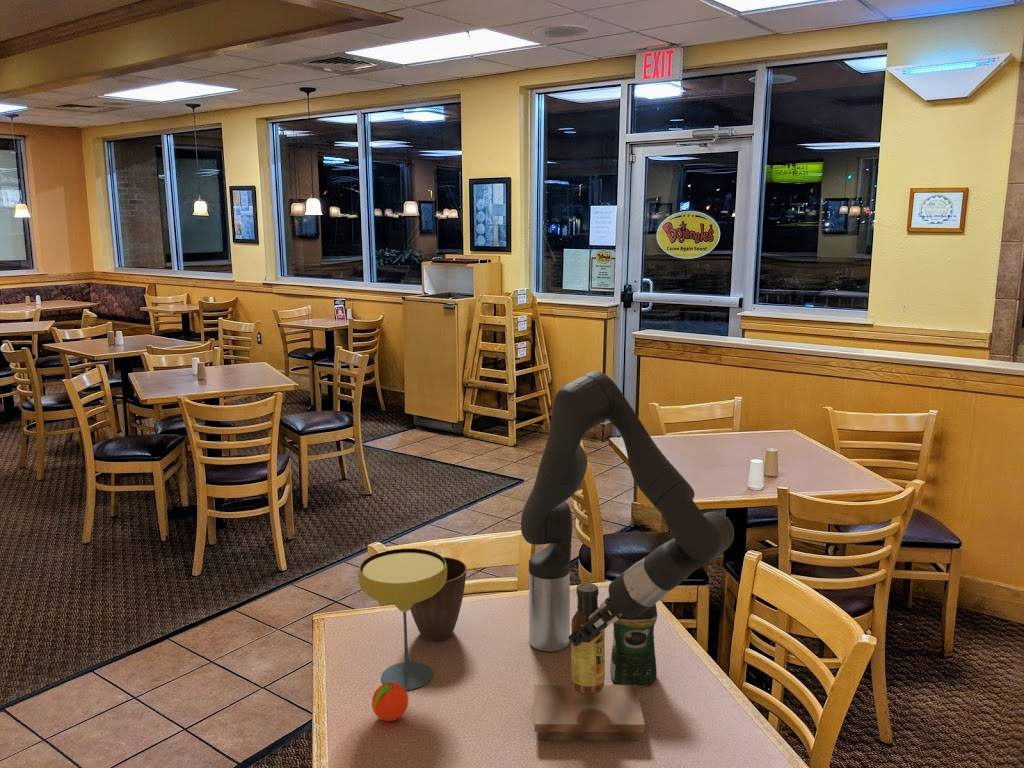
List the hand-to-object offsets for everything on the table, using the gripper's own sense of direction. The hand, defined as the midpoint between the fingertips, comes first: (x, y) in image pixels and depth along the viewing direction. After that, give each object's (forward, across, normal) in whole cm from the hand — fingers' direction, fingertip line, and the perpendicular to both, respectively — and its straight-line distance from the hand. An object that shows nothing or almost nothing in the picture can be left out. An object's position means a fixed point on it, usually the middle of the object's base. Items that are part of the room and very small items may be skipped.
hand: (579, 633), depth 151 cm
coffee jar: (+10, -19, +15) cm, 27 cm away
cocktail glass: (+40, +3, -15) cm, 43 cm away
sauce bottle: (+6, 0, +9) cm, 11 cm away
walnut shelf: (+12, 0, +14) cm, 18 cm away
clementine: (+36, +17, -10) cm, 41 cm away
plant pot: (+43, -15, -18) cm, 49 cm away
